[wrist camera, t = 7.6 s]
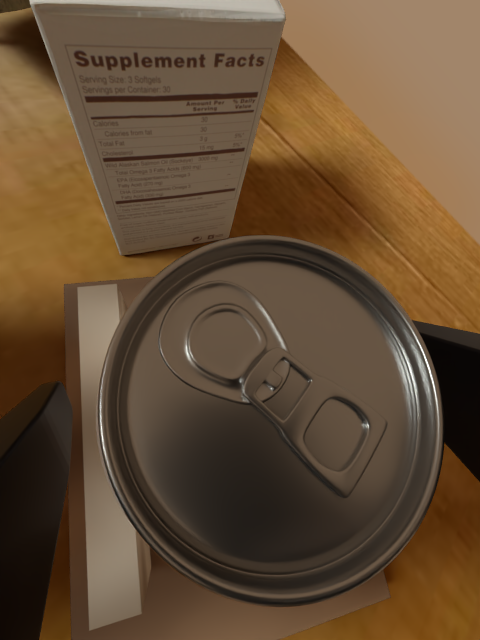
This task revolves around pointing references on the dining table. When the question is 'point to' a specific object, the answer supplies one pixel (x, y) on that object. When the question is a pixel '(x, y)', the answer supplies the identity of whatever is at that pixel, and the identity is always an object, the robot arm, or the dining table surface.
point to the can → (270, 421)
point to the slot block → (123, 539)
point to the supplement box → (164, 106)
